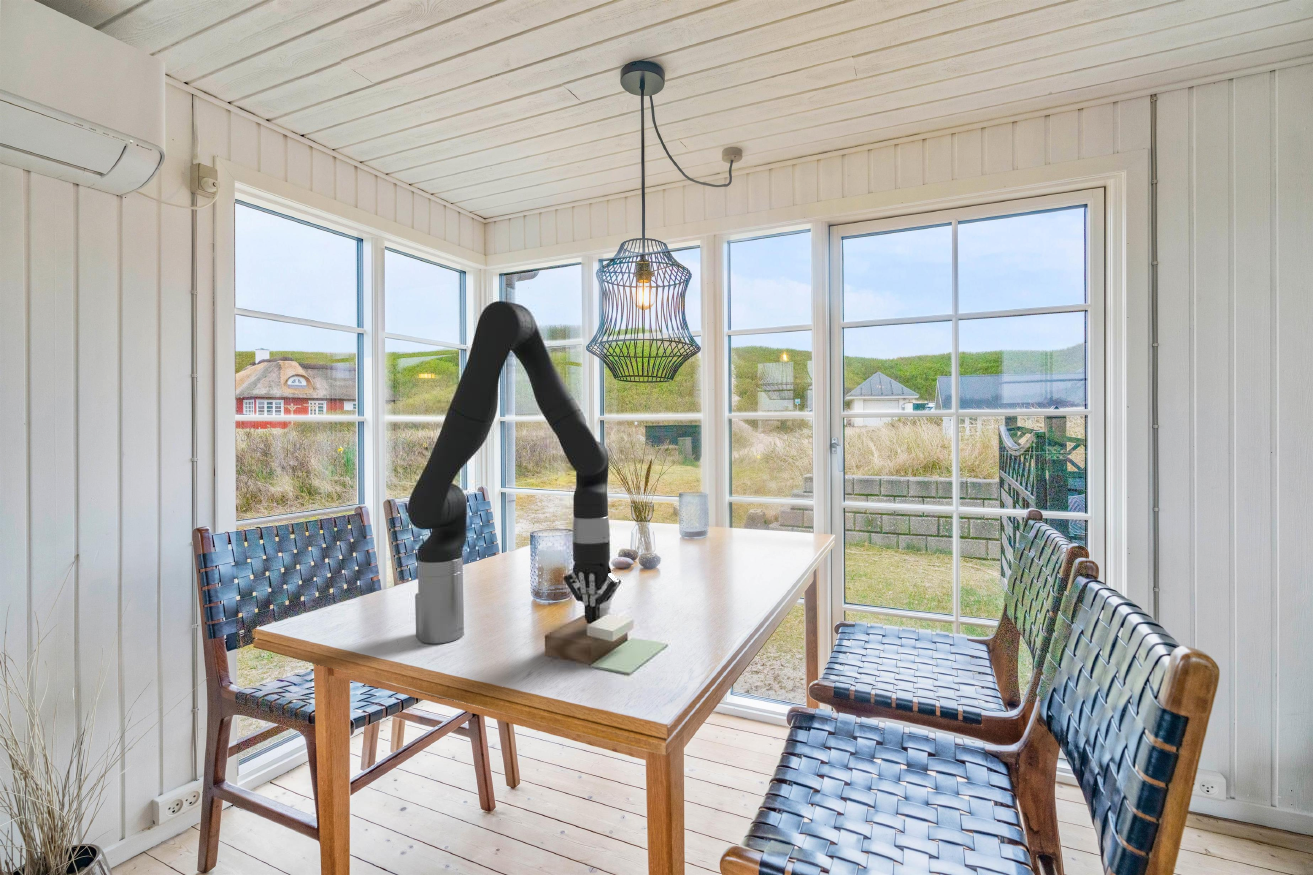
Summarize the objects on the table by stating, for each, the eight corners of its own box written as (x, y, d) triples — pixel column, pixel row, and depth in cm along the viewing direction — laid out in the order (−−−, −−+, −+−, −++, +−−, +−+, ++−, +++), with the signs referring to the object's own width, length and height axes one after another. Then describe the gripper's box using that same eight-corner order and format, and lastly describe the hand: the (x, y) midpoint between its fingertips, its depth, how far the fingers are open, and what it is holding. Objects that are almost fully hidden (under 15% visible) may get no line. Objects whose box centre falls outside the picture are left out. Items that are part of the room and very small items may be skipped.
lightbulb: (623, 618, 142) (622, 572, 142) (603, 625, 137) (602, 577, 137) (605, 613, 146) (604, 568, 146) (585, 619, 142) (584, 572, 142)
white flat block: (586, 635, 119) (587, 625, 119) (608, 623, 126) (608, 613, 126) (612, 641, 116) (613, 631, 116) (633, 628, 124) (633, 618, 124)
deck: (545, 655, 120) (544, 635, 120) (584, 632, 133) (583, 614, 132) (591, 664, 115) (591, 643, 115) (627, 640, 128) (627, 621, 128)
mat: (590, 666, 114) (590, 664, 114) (632, 639, 128) (632, 637, 128) (630, 674, 110) (630, 672, 110) (668, 645, 124) (668, 643, 124)
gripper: (553, 539, 122) (555, 623, 123) (609, 544, 117) (610, 633, 117) (574, 533, 129) (576, 613, 130) (628, 537, 123) (629, 621, 124)
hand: (592, 622), depth 123 cm, fingers closed
